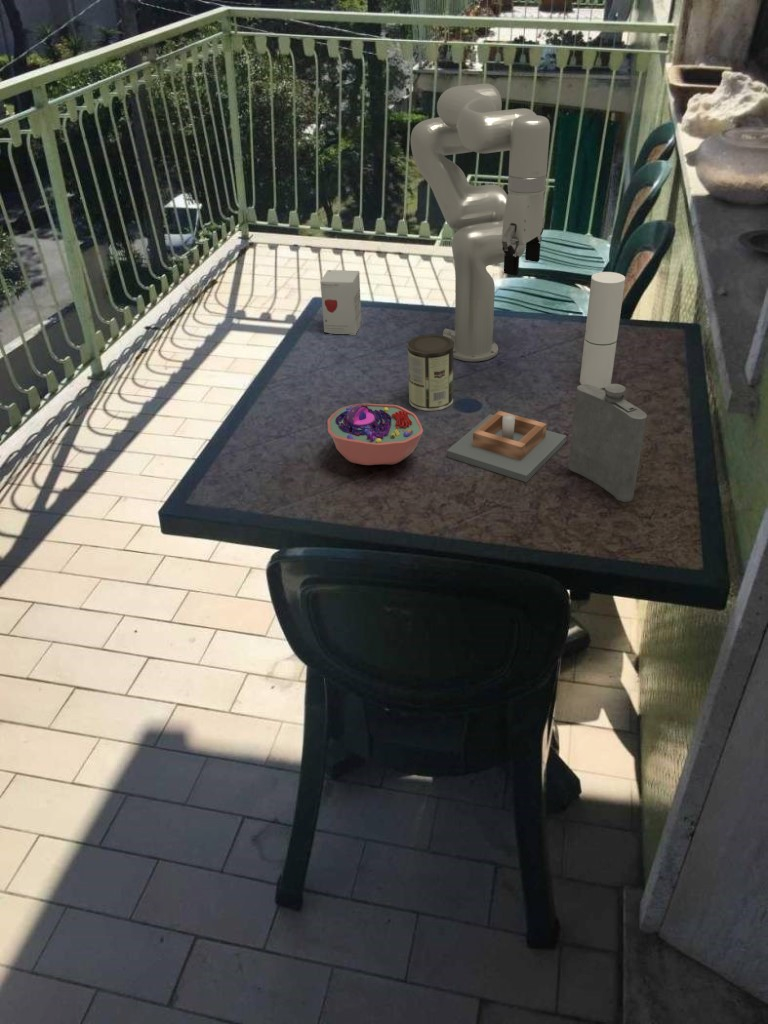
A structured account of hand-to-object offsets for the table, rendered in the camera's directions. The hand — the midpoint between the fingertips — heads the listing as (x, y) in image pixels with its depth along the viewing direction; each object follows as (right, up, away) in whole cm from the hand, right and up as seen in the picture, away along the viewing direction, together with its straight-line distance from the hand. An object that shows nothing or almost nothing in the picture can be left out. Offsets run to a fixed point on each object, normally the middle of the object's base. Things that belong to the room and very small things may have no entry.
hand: (521, 267), depth 174 cm
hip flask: (+12, -47, -17) cm, 51 cm away
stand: (-4, -40, -6) cm, 40 cm away
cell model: (-31, -42, -7) cm, 52 cm away
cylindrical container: (+20, -22, +17) cm, 34 cm away
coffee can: (-19, -27, +12) cm, 35 cm away
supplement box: (-41, -3, +48) cm, 63 cm away
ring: (-4, -38, -7) cm, 39 cm away
